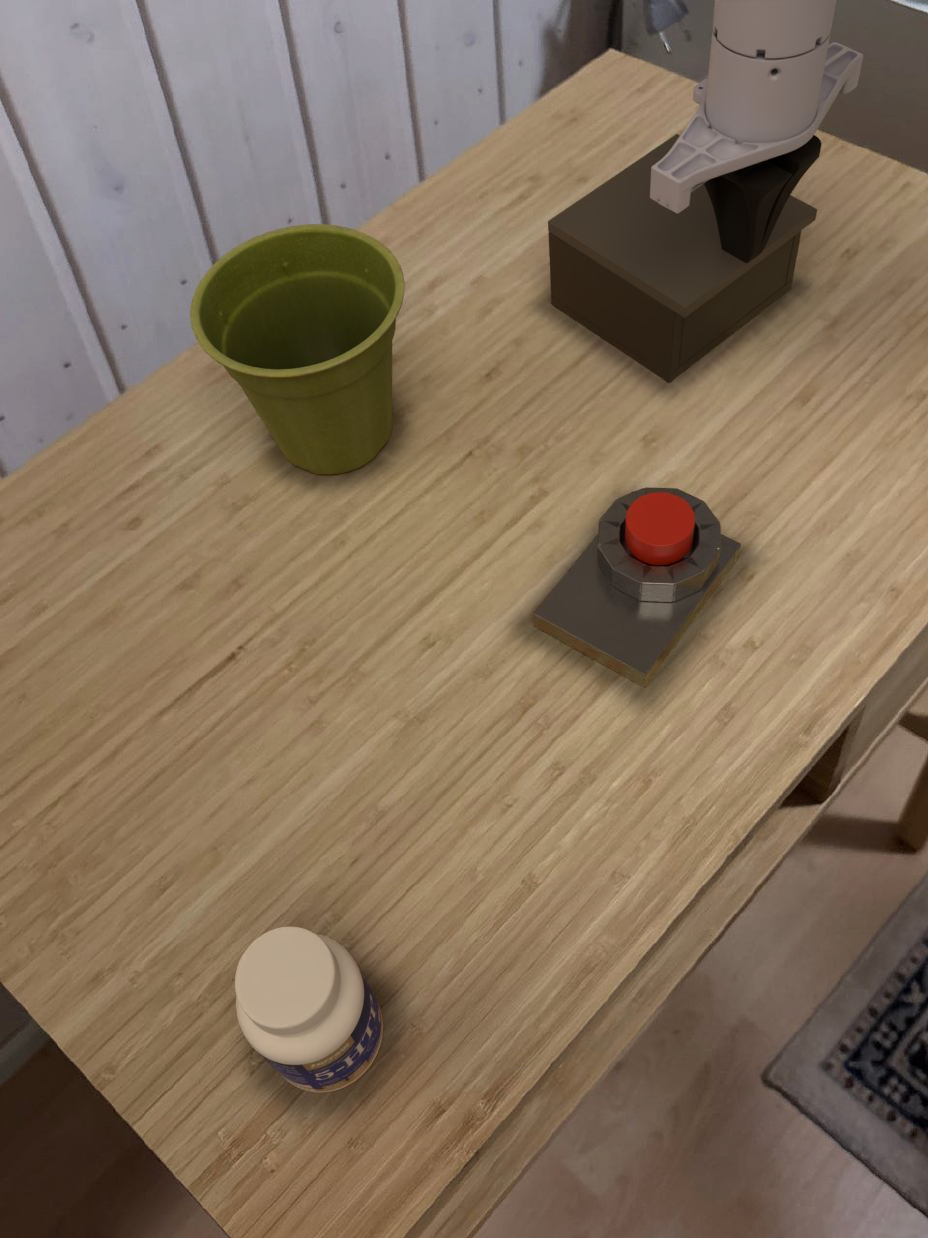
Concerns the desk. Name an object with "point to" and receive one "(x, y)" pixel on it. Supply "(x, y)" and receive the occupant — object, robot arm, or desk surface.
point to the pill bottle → (307, 1009)
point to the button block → (635, 592)
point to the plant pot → (308, 338)
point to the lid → (663, 236)
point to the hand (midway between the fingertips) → (741, 250)
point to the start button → (659, 528)
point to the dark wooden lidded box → (662, 307)
